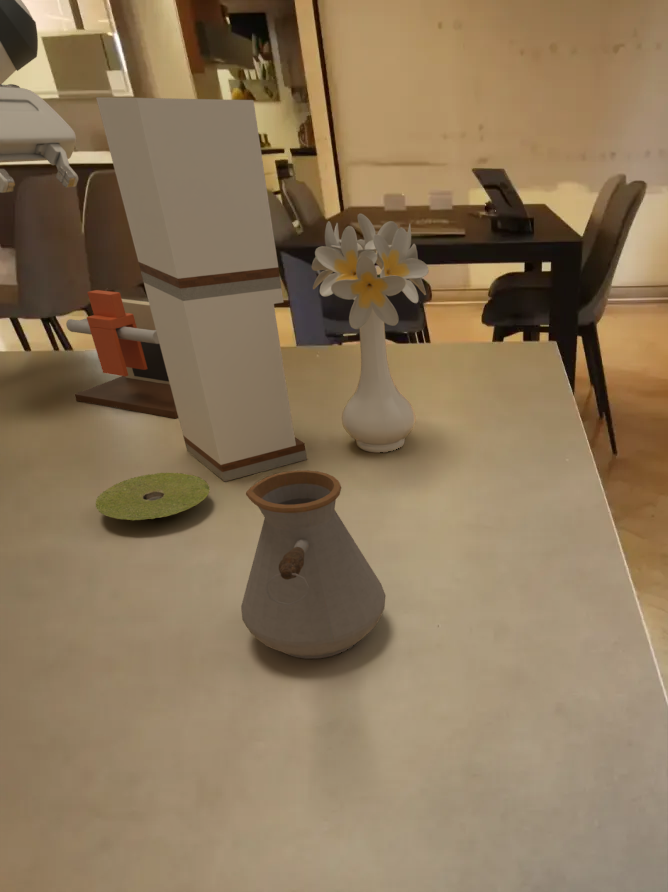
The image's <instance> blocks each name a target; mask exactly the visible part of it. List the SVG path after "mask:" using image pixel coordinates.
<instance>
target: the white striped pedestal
mask: <svg viewBox="0 0 668 892" xmlns="http://www.w3.org/2000/svg"><path fill="white" fill-rule="evenodd" d="M95 99H96V102H97V105H98V110H99V114H100V118H101V122H102V126H103V130H104V133H105V138H106V141H107V142H106V143H107V146H108V149H109V154H110V158H111V161H112V164H113V169H114V173H115V177H116V180H117V185H118V188H119V192H120V196H121V200H122V204H123V208H124V211H125V217H126V219H127V224H128V227H129V231H130V234H131V239H132V242H133V246H134V250H135V254H136V258H137V263H138V265H139V269H140V273H141V278H142V281H143V285H144V290H145V293H146V296H147V300H148V301H147V302H149V305H150V309H151V313H152V316H153V320H154V324H155V328H156V332H157V336H158V340H159V344H160V347H161V351H162V355H163V359H164V363H165V367H166V371H167V375H168V379H169V382H170V386H171V390H172V394H173V398H174V402H175V406H176V410H177V413H178V417H177V418H178V422H179V424H180V425H179V426H180V428H181V433H182V437H183V440H184V445H185V448H186V452H187V453H189V454H190V455H191V456H192V457H193V458H194V459H196V460H197V461H198V462H200V463H201V464H202V465H204V466H205V467H206V468H207V469H208V470H210V471H211V472H212V473H213V474H215V476H217V477H218V478H220V480H222V481H223V482H229V481H232V480H235V479H239V478H243V477H247V476H251V475H254V474H257V473H262V472H266V471H269V470H273V469H276V468H281V467H285V466H287V465H292V464H295V463H299V462H302V461H306V460H308V456H307V449H306V444H305V442H303V441H301V439H299V438H297V437H296V436H295V430H294V425H293V417H292V412H291V411H292V409H291V404H290V399H289V392H288V385H287V381H286V380H287V379H286V373H285V367H284V360H283V354H282V347H281V342H280V341H281V340H280V335H279V329H278V322H277V315H276V309H275V304H276V305H277V304H282V303H284V295H283V289H282V282H281V276H280V268H279V261H278V256H277V249H276V248H277V247H276V243H275V242H276V241H275V236H274V228H273V222H272V215H271V208H270V202H269V194H268V189H267V182H266V174H265V168H264V162H263V155H262V148H261V142H260V134H259V129H258V128H259V127H258V121H257V114H256V108H255V107H256V106H255V102H254V99H219V98H218V99H217V98H216V99H215V98H214V99H213V98H210V99H208V98H169V97H168V98H167V97H166V98H164V97H162V98H161V97H154V98H153V97H101V96H100V97H96V98H95Z"/></svg>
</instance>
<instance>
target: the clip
mask: <svg viewBox="0 0 668 892" xmlns="http://www.w3.org/2000/svg"><path fill="white" fill-rule="evenodd" d="M87 295H88V299H89V303H90V306H91V310H92V314H93V315H89V316H86V318H87V320H88V324H89V326H90V331H91V334H92V335H91V334H90V335H91V338H92V341H93V345H94V347H95V350H96V354H97V357H98V361H99V364H100V368H101V370H102V374H107V375H113V376H119V377H122V376H125V377H126V376H128V372H127V368H126V367H130V368H136V369H142V370H146V369H148V368H147V365H146V361H145V357H144V353H143V349H142V345H141V342H140V341H133V340H126V339H119V338H118V336H117V332H116V328H120V327H132V328H137V326H136V323H135V319H134V315H133V314H130V313H125V310H124V306H123V302H122V299H123V298H122V295H121V292H117V291H110V290H100V289H94V290H90V291H89V290H88V291H87Z"/></svg>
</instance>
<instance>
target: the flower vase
mask: <svg viewBox="0 0 668 892" xmlns="http://www.w3.org/2000/svg"><path fill="white" fill-rule="evenodd" d="M357 223H358V226H359V229H360V231H361V233H362V237H363V239H358V237H357V232H356V230H355V228H354V227H353V226H352V225H347V226H346V227H345V228H344V229H343V232H342V234H341V238H340V234H339V233H340V231H339V223H338V222H336V223H335V227H334V229H333V225H332V223H331V221H327V222H326V226H325V230H324V244H325V245H324V246H323V245H321V246H319V247H317V248H315V251H314V255H315V257H314V258H313V260H312V264H311V270H312V271H315V272H318V271H321V272H319V274H318V275H317V276H316V278H315V280H314V283H313V285H312V290H315V289H316V288H317V287H318V286H319V285H320V286H319V294H320V295H321V296H322V297H326V298H327V297H329V296H332V295H335V296H336V297H338V298H340V299H343V300H349V301H350V300H353V304H352V305H351V308H350V311H349V316H348V322H349V323H348V324H349V326H350V327H351V328H352V329H354V330H359V345H360V374H359V379H358V383H357V386H356V389H355V391H354V393H353V394H352V395H351V397H349V398H348V401H347V402H346V403H345V404H344V407H343V409H342V413H341V425H342V427H343V429H344V430H345V431H346V433H348V435H349V436H350V437H351V438H352V439H354V440H356V446H357V447H358V448H359V449H361V450H363V451H365V452H369V453H377V454H378V453H379V454H380V452H383V453H389V452H388V451H391V452H394V451H397V450H399V449H401V448H402V447H403V446H404V445H405V442H406V440H405V439H406V437H408V436H409V434H411V433H412V431H413V430H414V428H415V425H416V422H417V416H416V413H415V410H414V407H413V405H412V403H411V402H410V400H408V399H407V398H406V397H405V396H404V394H403V393H402V392H400V390H399V389H398V387H397V386H396V384H395V381H394V379H393V377H392V373H391V370H390V366H389V365H390V364H389V359H388V349H387V341H386V332H385V331H386V330H385V324H386V325H388V326H393V327H394V326H396V325H397V324H399V319H400V318H399V315H398V312H397V309H396V308H395V306H394V305H393V303H392V302H391V300H390V299H389V298H388V297H393V296H396V295H398V294H399V293H401V292H402V293H403V294H404V295H405V297H406V298H407V299H408V300H409V301H410V302H412V303H414V304H417V303H419V299H420V298H419V294H418V293H419V292H418V290H417V288H418V289H419V291H420V292H421V293H422V294H423V295H424V296H427V292H426V288H425V285H424V282H423V280H422V278H425V277H426V276H427V275H429V271H430V270H429V267H428V265H427V263H425V262H424V261H422V260H421V259H419V257H418V250H417V245H416V244H415V243H413V244H412V229H411V223H408V228H407V231H406V229H405V228H404V227H399V226H398V224H397V223H396V222H395V221H393V220H392V221H391V220H390V221H387V222H384V223H383V225H382V226H381V227H380V229H379V230H378V232H377V234H376V229H375V226H374V225H373V223H372V221H371V220H370V219H369V217H367V216H366V215H365V214H363V213H359V214H357ZM375 264H376V265H377V266H378V267H379V268H380V274H378V271H377V267H376V265H375ZM400 447H401V448H400ZM398 448H399V449H398ZM396 449H397V450H396ZM393 450H394V451H393Z"/></svg>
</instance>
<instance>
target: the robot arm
mask: <svg viewBox="0 0 668 892" xmlns="http://www.w3.org/2000/svg"><path fill="white" fill-rule="evenodd" d="M38 39H39V38H38V29H37V22H36V21H35V20H34V18H33V16H32V14H31V12H30V10H29V9H28V7H27V6H26V4H25V3H24V1H22V0H0V163H1V164H2V163H19V162H20V163H21V162H41V161H47V162H48V163H49V164H50V165H51V166H55V167H56V169H57V172H56V174H55V178H56V179H57V180H58V182H60V183H61V185H62V186H63V187H65V188H74V187H77V185H78V182H79V176H78V174H77V173H76V172H75V170H74V169H73V168H72V167H71V166H70V162H69V159H70V158H71V157H72V156H73V153H74V150H75V147H76V144H77V136H76V135H77V134H76V133H75V130H74V129H73V127H71V125H70V124H68V122H66V120H64V119H63V117H62V116H61V115H60V114H59V113H58V112H57V111H56V110H55V109H54V108H53V107H52V106H51V105H49V104H48V102H47V101H45V100H44V99H43V98H42V97H41V96H39V95H38V94H37V93H35V92H34V91H32V90H30V89H27V88H23V87H20V86H19V85H18V84H15V83H13V84H12V83H9V84H4V83H5V82H6V81H7V80H8V79H9V78H10V77H11V76H12V75H13V74H14V73H15V72H16V71H17V72H19V71H20V70H22V69H23V67H25V66H26V65H28V64H29V63H31V62H32V61H33V60H35V59H36V58H37V57H38V49H39V40H38ZM15 186H16V181H15V180H14V178H13V177H12V176H11V175H10V174H9V173H8V171H7V170H6V169H5V168H0V193H1V194H4V193H10V192H14V188H15Z"/></svg>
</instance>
